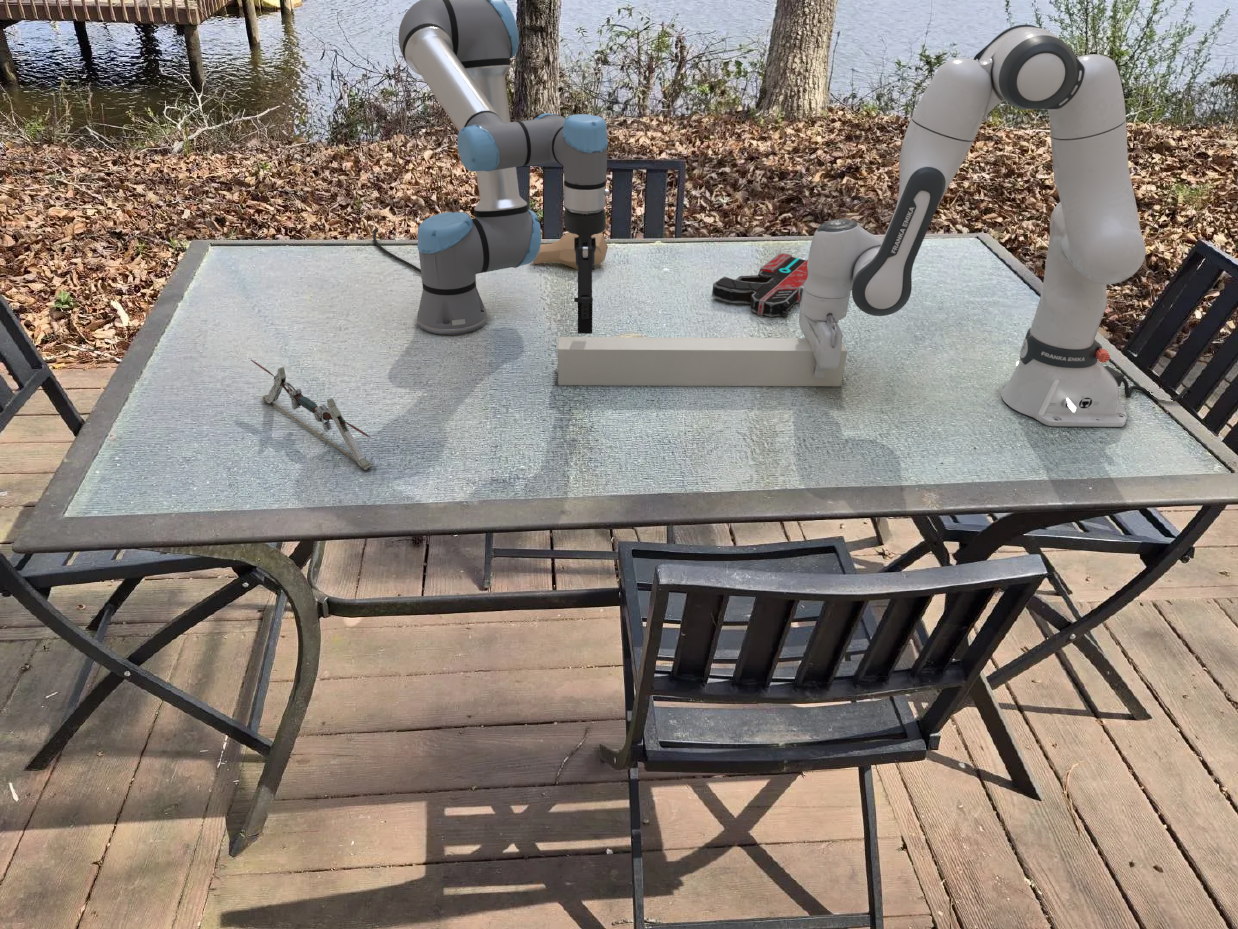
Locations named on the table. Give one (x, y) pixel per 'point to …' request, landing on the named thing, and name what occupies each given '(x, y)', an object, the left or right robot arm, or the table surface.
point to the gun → (766, 286)
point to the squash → (569, 251)
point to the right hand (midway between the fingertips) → (814, 367)
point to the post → (691, 362)
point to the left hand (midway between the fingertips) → (584, 317)
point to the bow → (316, 413)
